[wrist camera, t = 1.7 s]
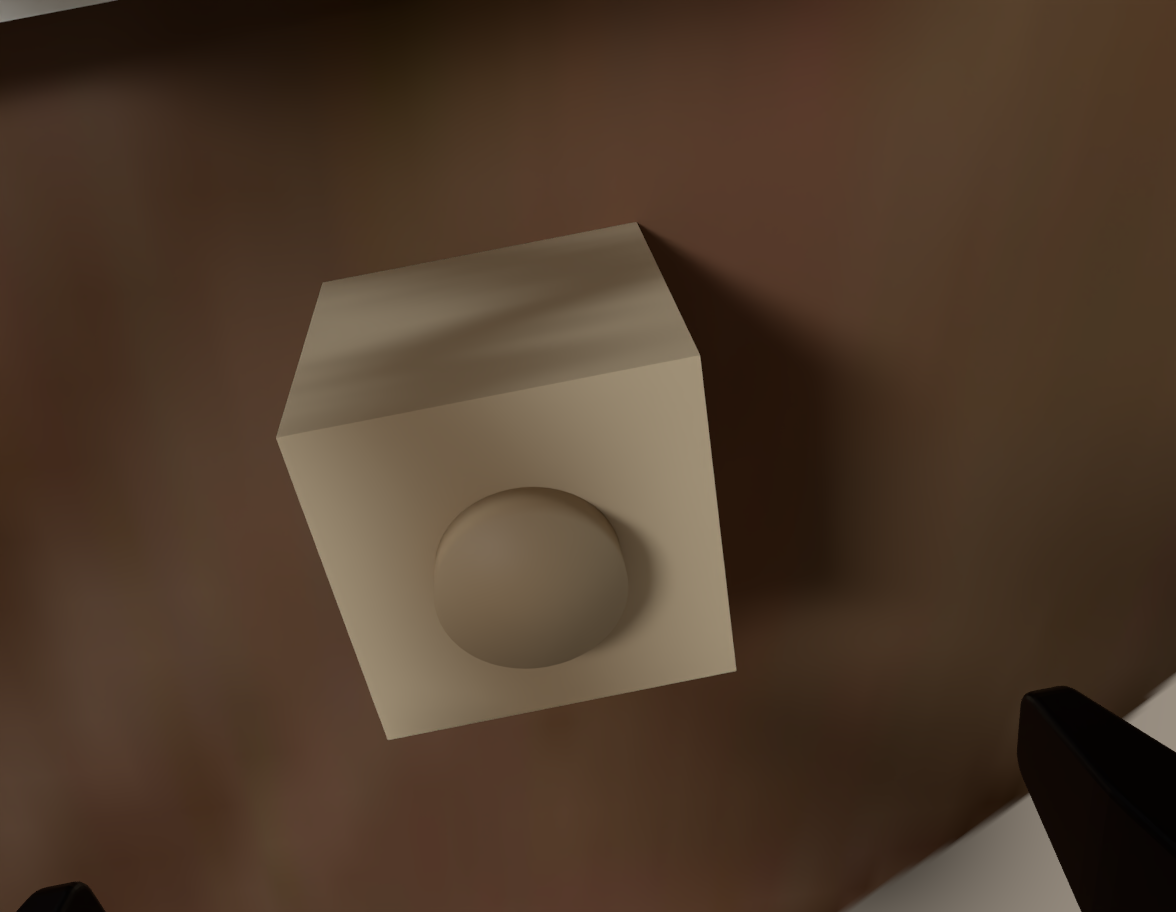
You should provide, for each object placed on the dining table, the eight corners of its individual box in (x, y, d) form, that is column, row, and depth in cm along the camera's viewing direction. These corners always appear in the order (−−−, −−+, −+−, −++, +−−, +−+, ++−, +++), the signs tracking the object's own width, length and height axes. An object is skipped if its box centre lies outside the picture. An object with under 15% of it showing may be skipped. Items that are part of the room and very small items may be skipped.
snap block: (635, 220, 16) (711, 377, 12) (672, 483, 19) (746, 700, 14) (323, 281, 16) (267, 464, 11) (403, 536, 19) (385, 772, 14)
